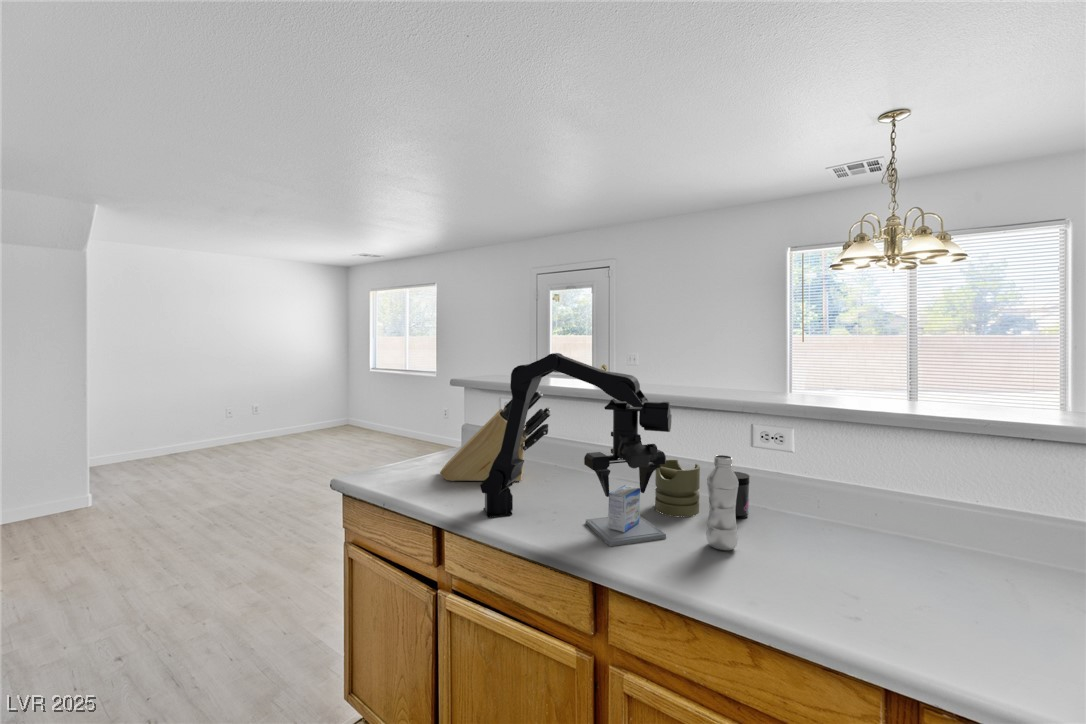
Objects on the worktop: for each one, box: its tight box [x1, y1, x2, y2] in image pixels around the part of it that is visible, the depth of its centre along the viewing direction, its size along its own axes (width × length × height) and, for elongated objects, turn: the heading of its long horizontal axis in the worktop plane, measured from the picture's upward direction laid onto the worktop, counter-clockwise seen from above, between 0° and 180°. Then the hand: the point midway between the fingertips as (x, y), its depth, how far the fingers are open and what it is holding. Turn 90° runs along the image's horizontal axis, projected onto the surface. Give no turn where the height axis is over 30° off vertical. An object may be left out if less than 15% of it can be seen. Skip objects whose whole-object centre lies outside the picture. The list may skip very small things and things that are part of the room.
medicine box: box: [607, 484, 641, 533], centre depth 119 cm, size 8×4×9 cm, turn 143°
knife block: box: [439, 388, 552, 482], centre depth 163 cm, size 11×35×31 cm, turn 89°
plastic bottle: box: [705, 454, 739, 551], centre depth 109 cm, size 6×7×20 cm
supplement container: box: [732, 470, 751, 520], centre depth 129 cm, size 7×7×10 cm
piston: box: [654, 459, 701, 518], centre depth 133 cm, size 11×12×11 cm
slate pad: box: [585, 515, 667, 547], centre depth 119 cm, size 14×14×1 cm
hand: (625, 494), depth 118 cm, fingers open, 9 cm apart
